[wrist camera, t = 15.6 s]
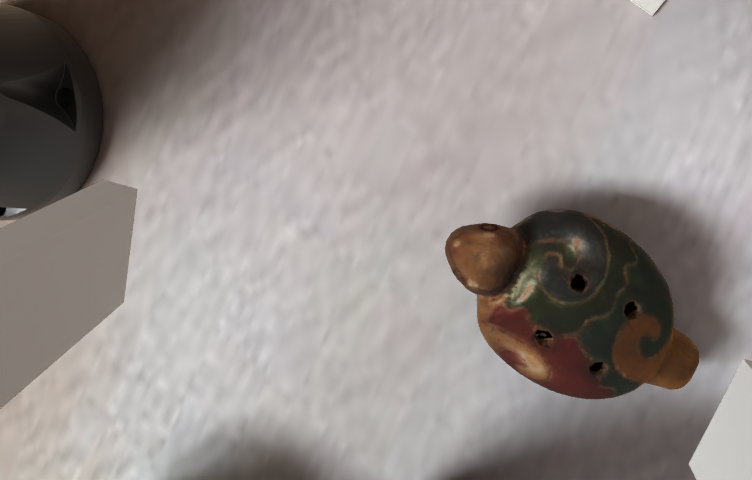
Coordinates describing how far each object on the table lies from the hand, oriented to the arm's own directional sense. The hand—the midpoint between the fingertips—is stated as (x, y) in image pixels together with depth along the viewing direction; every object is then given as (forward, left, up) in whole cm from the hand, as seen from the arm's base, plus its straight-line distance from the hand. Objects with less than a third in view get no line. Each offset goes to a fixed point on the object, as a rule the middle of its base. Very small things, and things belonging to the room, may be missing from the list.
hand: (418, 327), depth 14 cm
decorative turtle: (+6, 0, -28) cm, 29 cm away
